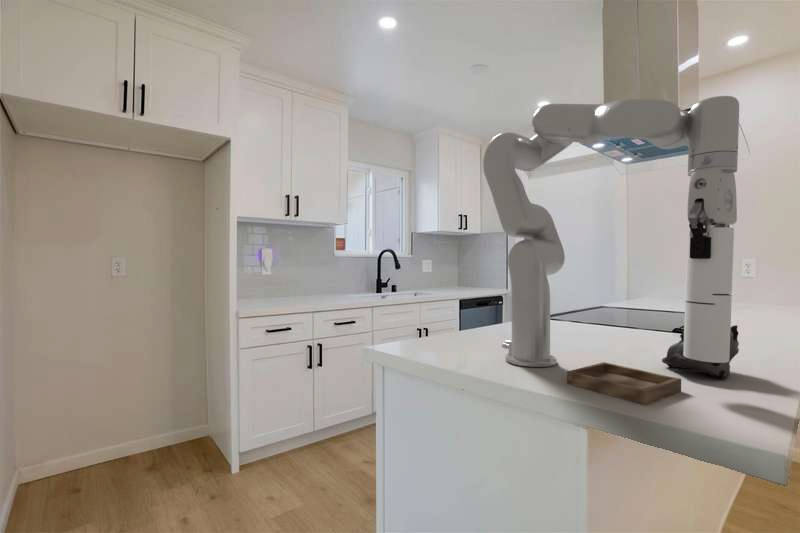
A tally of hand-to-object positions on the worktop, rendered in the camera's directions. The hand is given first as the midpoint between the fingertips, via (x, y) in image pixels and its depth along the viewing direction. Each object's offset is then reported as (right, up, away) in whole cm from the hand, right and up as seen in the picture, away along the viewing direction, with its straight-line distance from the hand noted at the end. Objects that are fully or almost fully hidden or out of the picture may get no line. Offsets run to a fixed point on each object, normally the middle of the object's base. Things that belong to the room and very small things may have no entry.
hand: (709, 258), depth 78 cm
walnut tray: (-13, -27, +6) cm, 30 cm away
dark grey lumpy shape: (+10, -27, +17) cm, 33 cm away
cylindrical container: (0, -20, +1) cm, 20 cm away
